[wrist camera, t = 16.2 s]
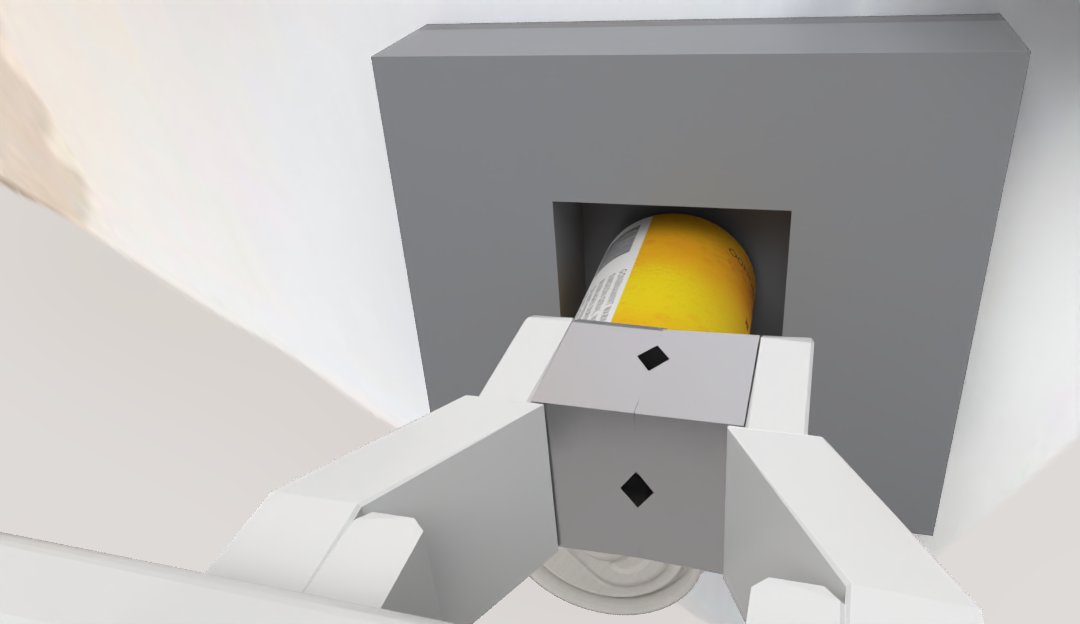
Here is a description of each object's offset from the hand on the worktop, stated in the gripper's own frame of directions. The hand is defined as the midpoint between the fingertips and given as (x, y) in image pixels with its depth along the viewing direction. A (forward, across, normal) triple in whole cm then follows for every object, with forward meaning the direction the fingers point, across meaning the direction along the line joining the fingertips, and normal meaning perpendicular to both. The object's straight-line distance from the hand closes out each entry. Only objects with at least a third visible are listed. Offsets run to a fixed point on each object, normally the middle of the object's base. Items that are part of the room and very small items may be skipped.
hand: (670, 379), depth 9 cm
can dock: (+24, +4, +11) cm, 26 cm away
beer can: (+23, +4, +11) cm, 26 cm away
